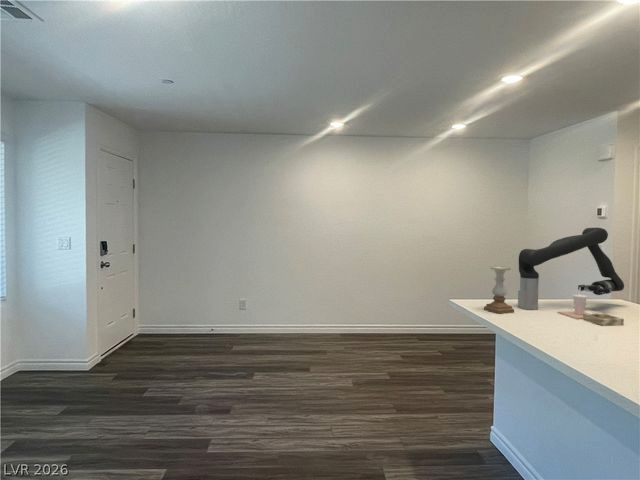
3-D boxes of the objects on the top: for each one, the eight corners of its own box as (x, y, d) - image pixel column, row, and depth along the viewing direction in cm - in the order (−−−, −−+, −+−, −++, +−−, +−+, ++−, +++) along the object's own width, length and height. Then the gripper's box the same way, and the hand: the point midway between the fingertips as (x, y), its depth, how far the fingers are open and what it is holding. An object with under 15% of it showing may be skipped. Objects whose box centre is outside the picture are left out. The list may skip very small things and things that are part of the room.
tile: (576, 319, 202) (576, 317, 202) (557, 313, 216) (557, 311, 216) (602, 318, 204) (602, 317, 204) (581, 312, 218) (581, 311, 218)
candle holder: (499, 308, 227) (500, 266, 226) (514, 312, 217) (515, 268, 216) (483, 309, 224) (484, 266, 223) (498, 314, 213) (499, 268, 212)
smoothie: (584, 313, 212) (585, 286, 212) (588, 316, 206) (589, 288, 206) (570, 312, 214) (571, 286, 214) (573, 315, 208) (574, 288, 208)
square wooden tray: (601, 325, 190) (601, 319, 190) (583, 319, 201) (583, 313, 201) (623, 325, 191) (623, 319, 191) (604, 319, 203) (604, 313, 202)
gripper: (587, 279, 231) (574, 281, 222) (616, 282, 220) (604, 284, 210) (586, 292, 232) (573, 295, 222) (615, 296, 220) (603, 299, 211)
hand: (588, 290), depth 216 cm, fingers open, 8 cm apart
